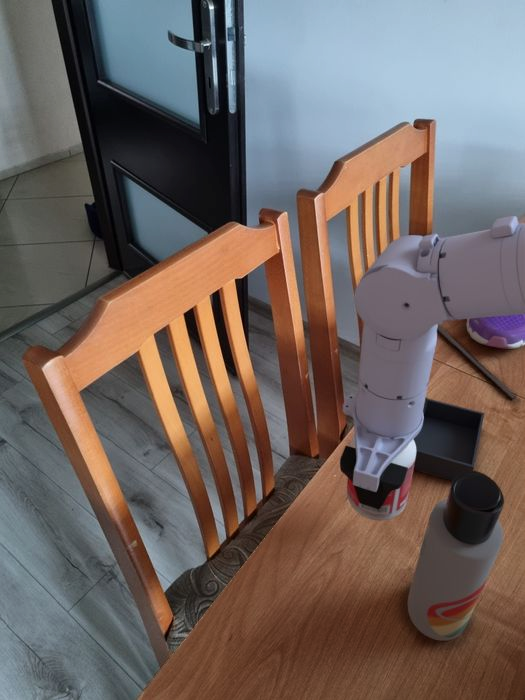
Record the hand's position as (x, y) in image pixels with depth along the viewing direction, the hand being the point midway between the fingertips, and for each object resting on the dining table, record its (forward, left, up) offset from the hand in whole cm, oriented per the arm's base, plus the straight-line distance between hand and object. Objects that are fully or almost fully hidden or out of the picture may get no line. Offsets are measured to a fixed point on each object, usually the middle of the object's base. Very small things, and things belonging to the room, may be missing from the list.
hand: (379, 476), depth 55 cm
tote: (-4, -14, -9) cm, 17 cm away
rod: (-5, -32, -9) cm, 34 cm away
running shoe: (-9, -45, -10) cm, 47 cm away
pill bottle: (0, 0, -4) cm, 4 cm away
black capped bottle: (-8, +6, -10) cm, 14 cm away
